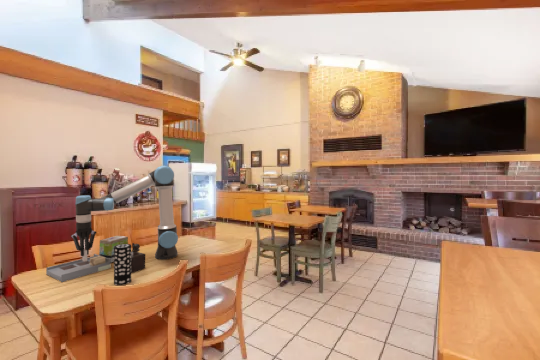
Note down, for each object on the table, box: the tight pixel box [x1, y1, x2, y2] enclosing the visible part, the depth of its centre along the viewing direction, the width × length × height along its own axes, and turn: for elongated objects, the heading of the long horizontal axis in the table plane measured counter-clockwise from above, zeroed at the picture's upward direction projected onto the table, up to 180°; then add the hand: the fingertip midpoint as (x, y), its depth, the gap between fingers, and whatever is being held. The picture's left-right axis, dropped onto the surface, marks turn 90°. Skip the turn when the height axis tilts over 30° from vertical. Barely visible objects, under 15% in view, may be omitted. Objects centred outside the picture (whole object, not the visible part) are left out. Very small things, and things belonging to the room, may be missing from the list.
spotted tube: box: [113, 243, 132, 286], centre depth 146 cm, size 8×8×20 cm
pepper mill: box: [131, 242, 146, 274], centre depth 164 cm, size 16×11×18 cm
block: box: [90, 256, 105, 266], centre depth 166 cm, size 6×6×4 cm
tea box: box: [98, 235, 129, 264], centre depth 183 cm, size 15×10×15 cm, turn 168°
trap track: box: [45, 253, 112, 283], centre depth 161 cm, size 20×26×6 cm
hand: (84, 260), depth 160 cm, fingers closed
